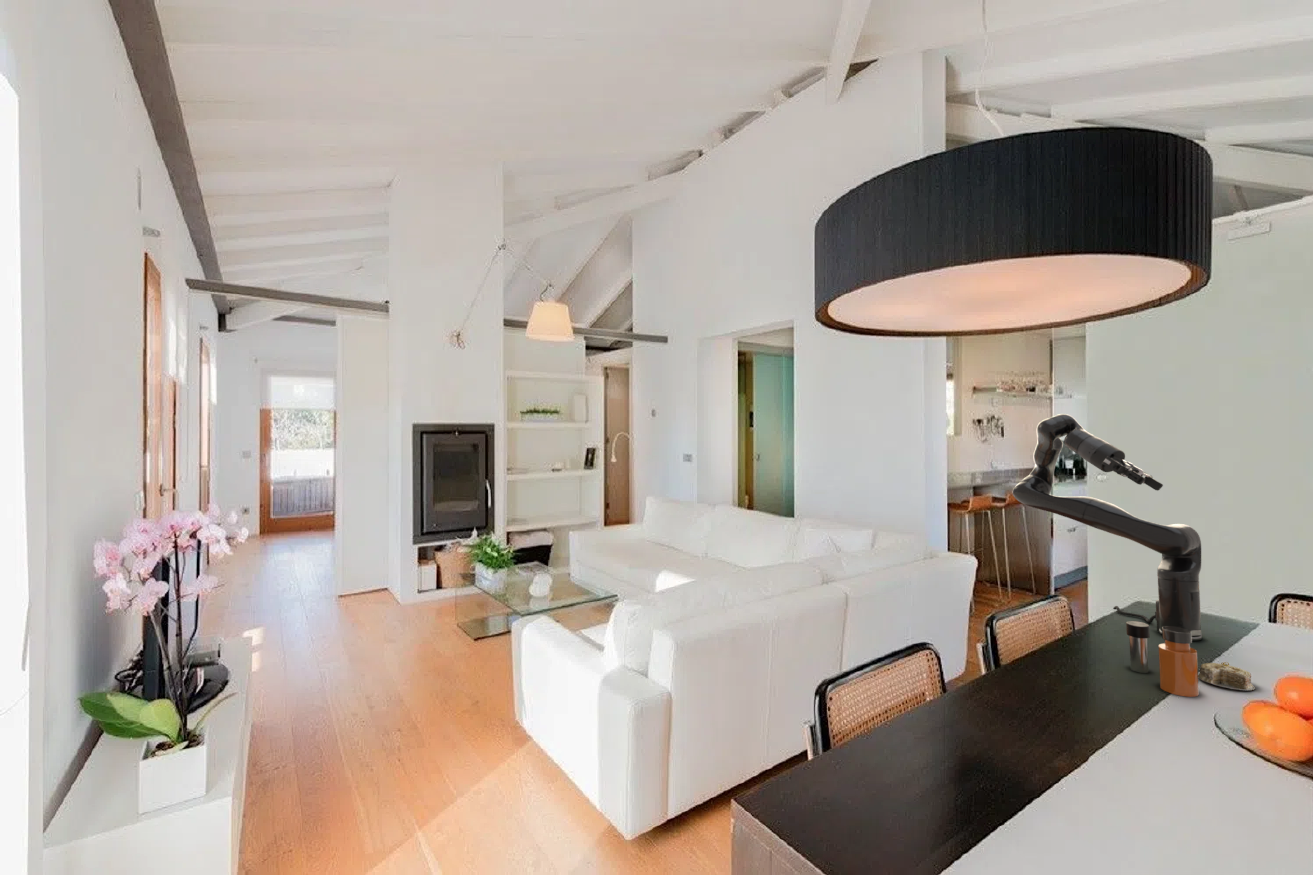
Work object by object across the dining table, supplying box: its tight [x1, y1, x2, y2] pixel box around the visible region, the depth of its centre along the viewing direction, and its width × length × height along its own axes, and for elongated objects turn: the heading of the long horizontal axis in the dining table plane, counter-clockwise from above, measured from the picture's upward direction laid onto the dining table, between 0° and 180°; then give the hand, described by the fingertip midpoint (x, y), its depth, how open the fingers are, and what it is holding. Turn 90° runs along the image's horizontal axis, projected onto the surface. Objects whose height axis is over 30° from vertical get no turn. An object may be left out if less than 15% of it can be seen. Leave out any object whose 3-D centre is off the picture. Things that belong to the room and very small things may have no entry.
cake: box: [1198, 661, 1256, 691], centre depth 140 cm, size 10×10×5 cm
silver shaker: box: [1125, 620, 1151, 674], centre depth 149 cm, size 5×5×12 cm
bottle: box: [1157, 626, 1200, 698], centre depth 137 cm, size 7×7×14 cm
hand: (1151, 484), depth 158 cm, fingers open, 8 cm apart
